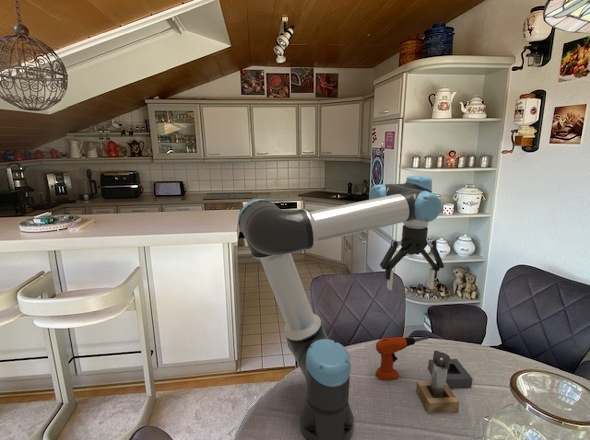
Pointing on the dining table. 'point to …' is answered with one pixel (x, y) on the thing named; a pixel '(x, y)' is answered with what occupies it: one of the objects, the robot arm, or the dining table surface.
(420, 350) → the dining table surface
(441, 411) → the wooden square frame
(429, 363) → the block
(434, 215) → the robot arm
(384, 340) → the toy drill
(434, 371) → the dark grey tall piece
